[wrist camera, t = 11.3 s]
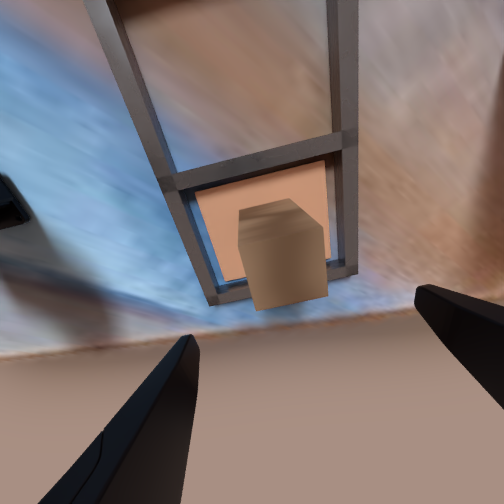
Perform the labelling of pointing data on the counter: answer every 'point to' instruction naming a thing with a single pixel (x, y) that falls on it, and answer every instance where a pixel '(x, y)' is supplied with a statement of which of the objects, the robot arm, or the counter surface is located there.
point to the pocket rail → (251, 160)
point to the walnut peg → (282, 254)
